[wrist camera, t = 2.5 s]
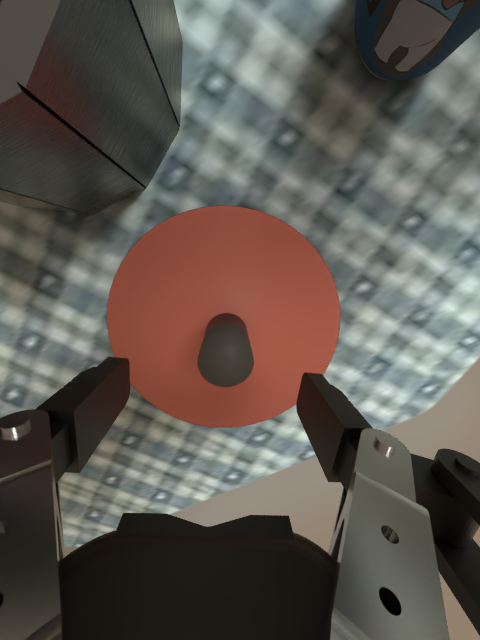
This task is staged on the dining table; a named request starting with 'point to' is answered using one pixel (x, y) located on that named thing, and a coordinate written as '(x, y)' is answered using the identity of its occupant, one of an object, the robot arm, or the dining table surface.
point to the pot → (86, 99)
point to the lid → (223, 315)
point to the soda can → (411, 34)
